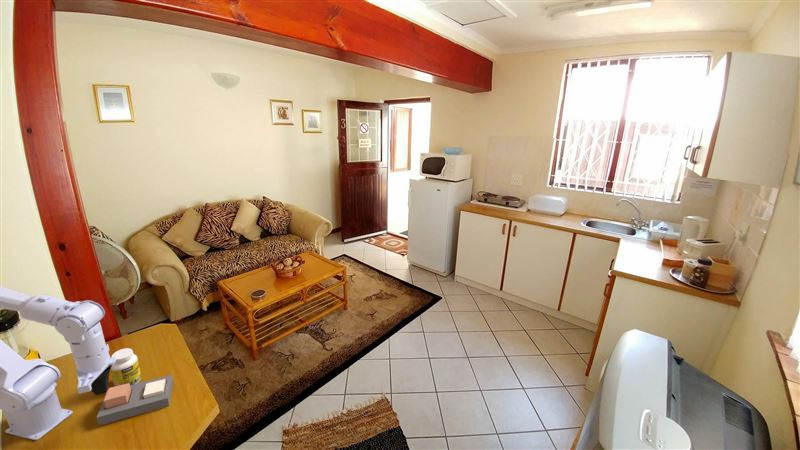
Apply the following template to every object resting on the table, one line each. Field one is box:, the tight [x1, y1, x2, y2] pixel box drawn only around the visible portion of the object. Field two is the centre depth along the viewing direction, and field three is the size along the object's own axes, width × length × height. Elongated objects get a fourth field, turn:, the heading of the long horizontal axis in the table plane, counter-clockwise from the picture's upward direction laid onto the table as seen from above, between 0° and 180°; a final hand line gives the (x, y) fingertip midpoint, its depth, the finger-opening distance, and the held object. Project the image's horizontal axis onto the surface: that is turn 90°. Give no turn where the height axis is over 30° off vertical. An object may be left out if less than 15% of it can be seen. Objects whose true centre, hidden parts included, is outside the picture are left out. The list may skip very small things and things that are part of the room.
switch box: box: [96, 374, 174, 427], centre depth 87 cm, size 15×9×3 cm, turn 119°
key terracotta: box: [103, 383, 131, 409], centre depth 84 cm, size 4×4×3 cm
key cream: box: [143, 379, 166, 399], centre depth 89 cm, size 4×4×3 cm
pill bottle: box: [110, 347, 142, 387], centre depth 92 cm, size 6×6×11 cm
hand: (101, 392), depth 78 cm, fingers closed
